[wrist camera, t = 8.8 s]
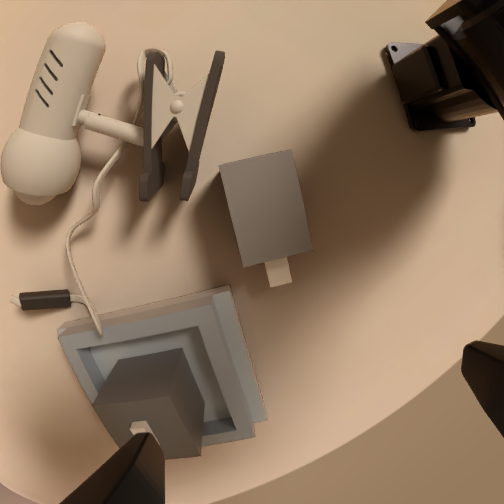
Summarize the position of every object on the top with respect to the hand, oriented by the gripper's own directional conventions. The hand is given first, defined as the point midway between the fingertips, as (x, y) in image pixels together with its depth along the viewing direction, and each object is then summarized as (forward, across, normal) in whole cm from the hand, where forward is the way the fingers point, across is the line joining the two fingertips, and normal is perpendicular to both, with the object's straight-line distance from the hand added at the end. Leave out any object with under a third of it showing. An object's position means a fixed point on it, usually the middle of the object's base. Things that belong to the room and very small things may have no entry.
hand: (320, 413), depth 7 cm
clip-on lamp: (+12, +9, -8) cm, 17 cm away
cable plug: (+12, 0, -4) cm, 13 cm away
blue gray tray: (+12, +8, +5) cm, 15 cm away
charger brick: (+11, +8, +5) cm, 14 cm away
